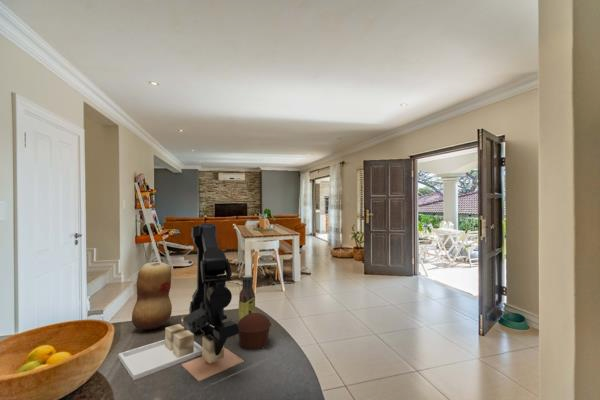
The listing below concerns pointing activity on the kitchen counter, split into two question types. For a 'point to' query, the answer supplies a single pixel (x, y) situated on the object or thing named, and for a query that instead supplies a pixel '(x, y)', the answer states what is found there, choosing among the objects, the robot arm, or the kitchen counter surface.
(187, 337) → the plain box
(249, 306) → the sauce bottle
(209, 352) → the labelled box
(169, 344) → the plain box
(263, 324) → the muffin
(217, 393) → the kitchen counter surface
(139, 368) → the white shallow tray
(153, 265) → the butternut squash
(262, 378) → the kitchen counter surface
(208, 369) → the terracotta tile
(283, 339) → the kitchen counter surface
